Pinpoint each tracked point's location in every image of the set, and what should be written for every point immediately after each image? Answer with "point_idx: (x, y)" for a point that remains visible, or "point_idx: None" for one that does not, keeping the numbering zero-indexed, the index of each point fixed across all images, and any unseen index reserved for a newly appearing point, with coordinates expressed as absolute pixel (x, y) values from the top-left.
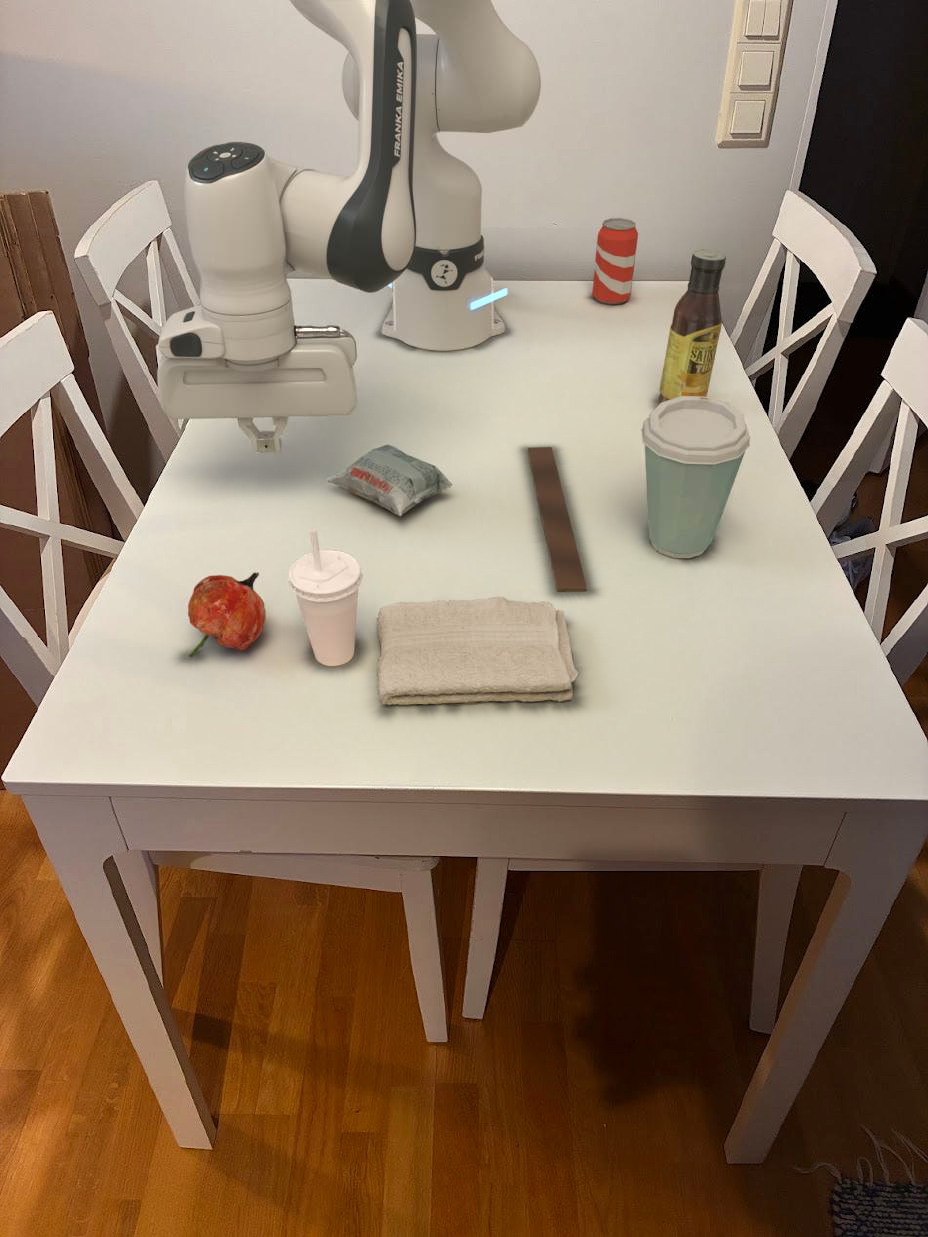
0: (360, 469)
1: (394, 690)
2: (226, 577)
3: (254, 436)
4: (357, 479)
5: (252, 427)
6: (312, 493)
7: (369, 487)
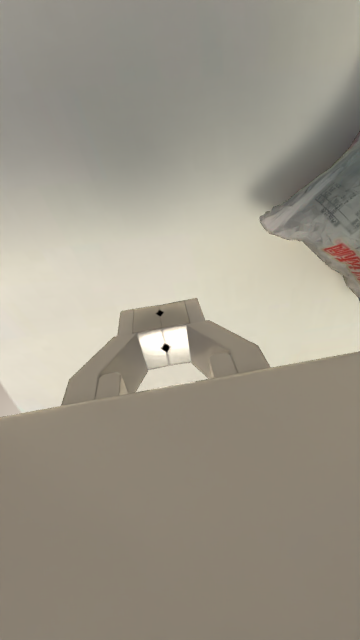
0: (352, 248)
1: None
2: None
3: (140, 379)
4: (331, 258)
5: (126, 376)
6: (216, 209)
7: (345, 271)
